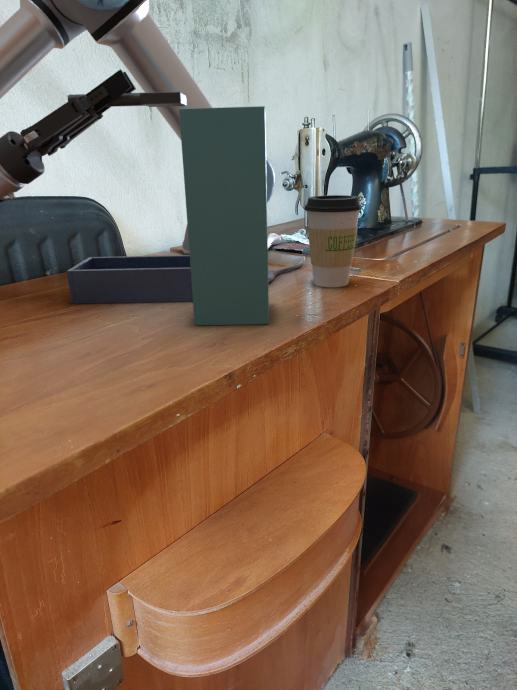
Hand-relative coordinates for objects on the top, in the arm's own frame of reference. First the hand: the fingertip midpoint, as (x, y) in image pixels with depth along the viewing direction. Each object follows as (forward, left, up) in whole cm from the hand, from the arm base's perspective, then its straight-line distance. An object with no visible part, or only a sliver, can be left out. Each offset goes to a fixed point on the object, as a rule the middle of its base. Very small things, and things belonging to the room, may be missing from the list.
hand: (128, 79), depth 78 cm
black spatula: (0, 0, -4) cm, 4 cm away
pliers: (-25, +7, -33) cm, 42 cm away
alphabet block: (-11, -15, -34) cm, 38 cm away
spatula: (-39, -8, -33) cm, 52 cm away
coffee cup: (-25, +20, -34) cm, 47 cm away
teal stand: (0, +20, -33) cm, 39 cm away
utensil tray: (0, -1, -33) cm, 33 cm away
